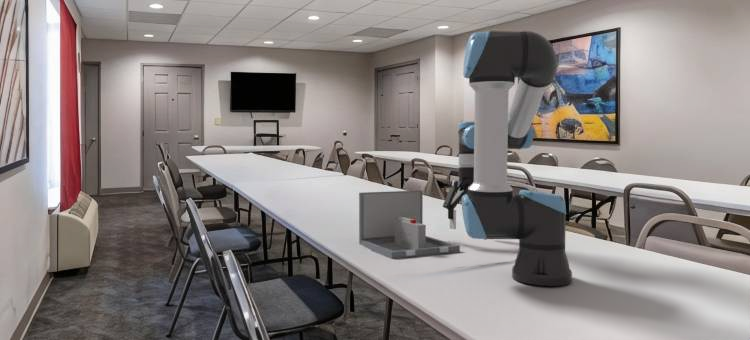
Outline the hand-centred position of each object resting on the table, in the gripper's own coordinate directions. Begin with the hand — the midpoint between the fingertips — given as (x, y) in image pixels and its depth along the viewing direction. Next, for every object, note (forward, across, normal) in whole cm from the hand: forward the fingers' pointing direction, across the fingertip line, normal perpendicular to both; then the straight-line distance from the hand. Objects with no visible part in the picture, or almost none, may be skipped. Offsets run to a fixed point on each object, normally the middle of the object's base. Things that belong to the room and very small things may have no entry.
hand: (469, 227), depth 177 cm
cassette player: (+6, +24, 0) cm, 25 cm away
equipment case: (+6, +24, 0) cm, 25 cm away
